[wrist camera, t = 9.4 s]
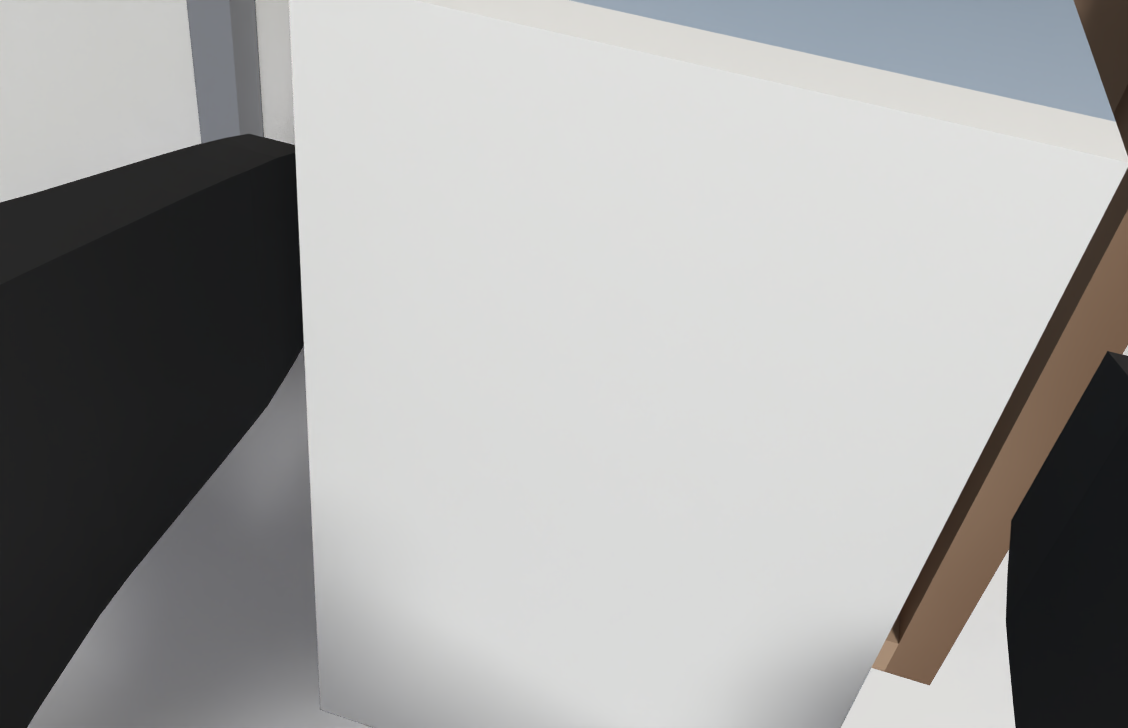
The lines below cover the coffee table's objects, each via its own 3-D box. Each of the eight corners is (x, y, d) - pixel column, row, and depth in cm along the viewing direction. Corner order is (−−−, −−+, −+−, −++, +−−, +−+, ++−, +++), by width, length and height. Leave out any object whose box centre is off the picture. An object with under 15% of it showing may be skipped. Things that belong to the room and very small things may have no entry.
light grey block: (514, 354, 15) (319, 709, 10) (579, -201, 10) (287, -30, 6) (824, 439, 14) (771, 861, 9) (1034, -113, 10) (1130, 163, 5)
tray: (396, 397, 17) (327, 501, 15) (421, -492, 10) (297, -513, 8) (929, 549, 16) (929, 685, 14) (1385, -343, 9) (1517, -324, 7)
